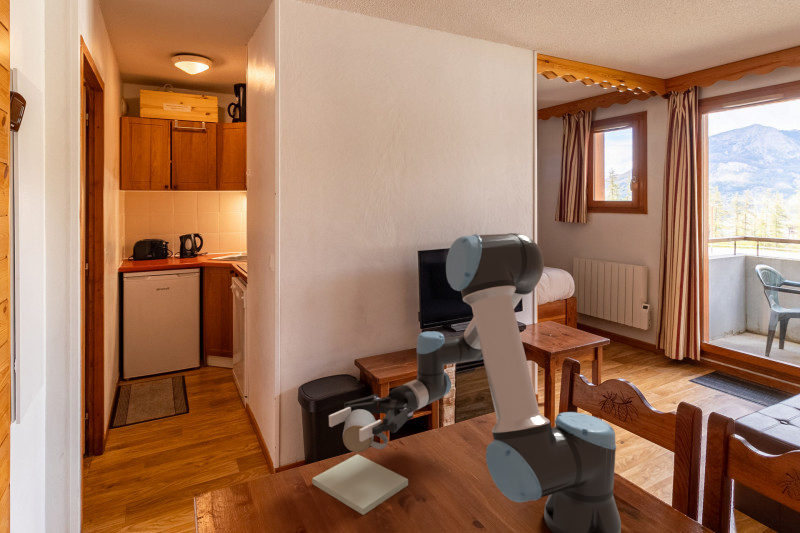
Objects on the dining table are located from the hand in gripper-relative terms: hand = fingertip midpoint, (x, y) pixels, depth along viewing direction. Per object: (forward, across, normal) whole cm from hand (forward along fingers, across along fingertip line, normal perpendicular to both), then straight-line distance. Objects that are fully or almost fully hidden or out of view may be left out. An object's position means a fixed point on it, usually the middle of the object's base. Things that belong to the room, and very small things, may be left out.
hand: (344, 428), depth 112 cm
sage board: (-4, 0, -16) cm, 17 cm away
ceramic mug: (-5, -1, -6) cm, 8 cm away
